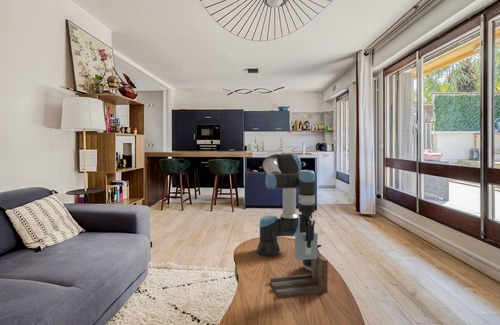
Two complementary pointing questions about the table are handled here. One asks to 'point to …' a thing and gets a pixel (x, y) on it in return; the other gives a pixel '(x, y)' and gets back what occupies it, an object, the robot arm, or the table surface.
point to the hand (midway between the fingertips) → (306, 252)
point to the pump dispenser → (309, 261)
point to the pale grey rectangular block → (300, 246)
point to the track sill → (304, 280)
